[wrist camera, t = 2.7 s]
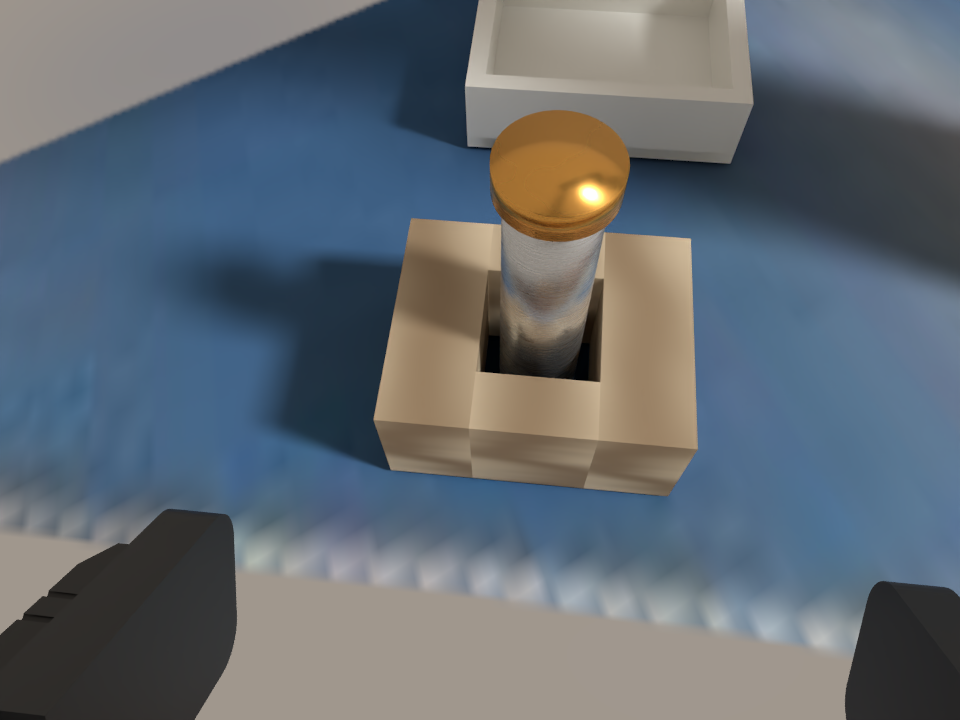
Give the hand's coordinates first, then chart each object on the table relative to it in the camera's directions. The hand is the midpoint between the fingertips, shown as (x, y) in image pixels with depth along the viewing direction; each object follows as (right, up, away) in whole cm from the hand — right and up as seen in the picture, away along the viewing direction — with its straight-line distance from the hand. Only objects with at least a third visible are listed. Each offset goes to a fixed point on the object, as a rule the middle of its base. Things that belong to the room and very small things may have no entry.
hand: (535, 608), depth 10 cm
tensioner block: (+1, +2, +20) cm, 20 cm away
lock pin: (+1, +2, +20) cm, 20 cm away
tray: (+5, +17, +27) cm, 33 cm away
